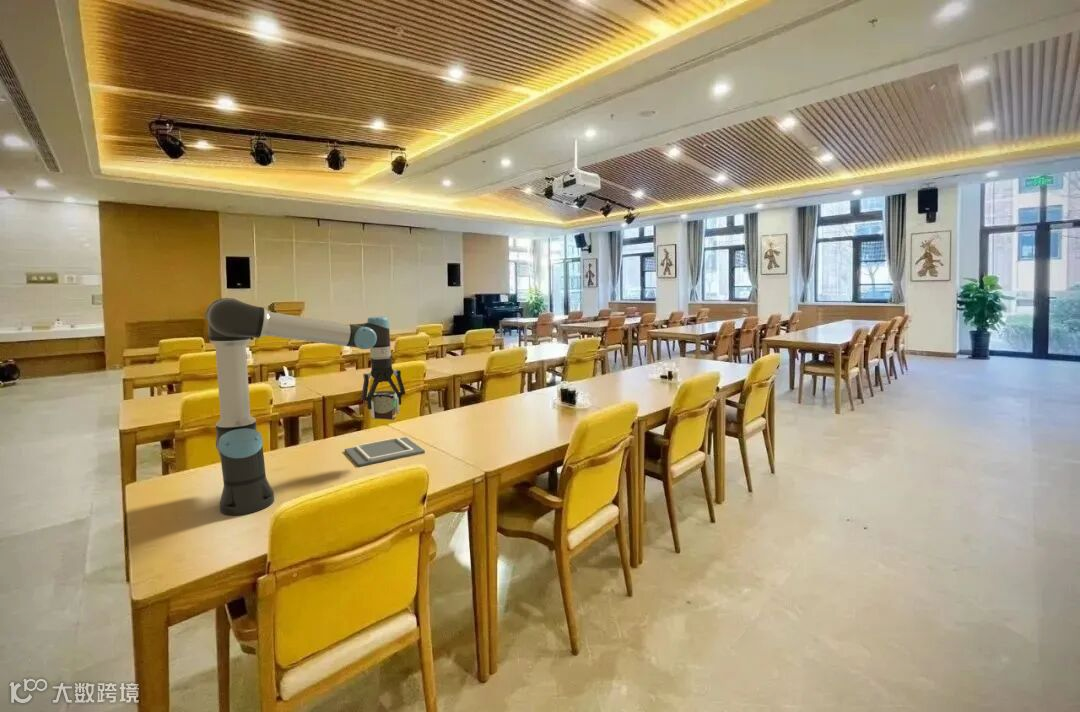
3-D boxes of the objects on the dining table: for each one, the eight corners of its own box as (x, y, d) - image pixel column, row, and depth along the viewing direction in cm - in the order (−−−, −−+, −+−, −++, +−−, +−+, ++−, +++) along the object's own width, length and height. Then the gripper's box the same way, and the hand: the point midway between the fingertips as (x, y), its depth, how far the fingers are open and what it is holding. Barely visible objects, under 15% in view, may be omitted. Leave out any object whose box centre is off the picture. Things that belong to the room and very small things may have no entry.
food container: (405, 416, 204) (403, 391, 203) (396, 420, 198) (394, 394, 197) (377, 414, 208) (376, 389, 206) (368, 418, 202) (366, 392, 201)
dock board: (359, 466, 198) (358, 461, 197) (344, 451, 216) (344, 446, 215) (424, 452, 212) (424, 448, 212) (406, 439, 230) (405, 435, 230)
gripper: (353, 362, 190) (358, 422, 194) (412, 355, 201) (415, 412, 205) (349, 359, 196) (354, 417, 200) (405, 353, 208) (409, 408, 211)
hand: (385, 415), depth 202 cm, fingers closed on food container, 9 cm apart
